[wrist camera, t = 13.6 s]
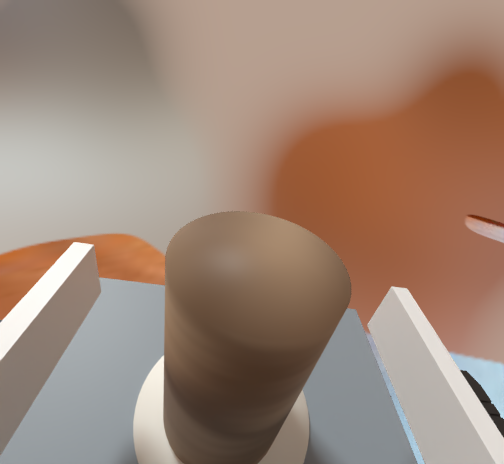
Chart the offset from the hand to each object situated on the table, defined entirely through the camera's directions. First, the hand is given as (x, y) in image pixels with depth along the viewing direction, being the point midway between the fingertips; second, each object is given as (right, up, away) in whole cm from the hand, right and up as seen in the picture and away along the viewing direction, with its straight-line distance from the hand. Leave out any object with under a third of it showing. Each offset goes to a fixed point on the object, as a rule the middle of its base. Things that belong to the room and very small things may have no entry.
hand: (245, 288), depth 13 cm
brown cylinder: (-1, -7, +2) cm, 7 cm away
